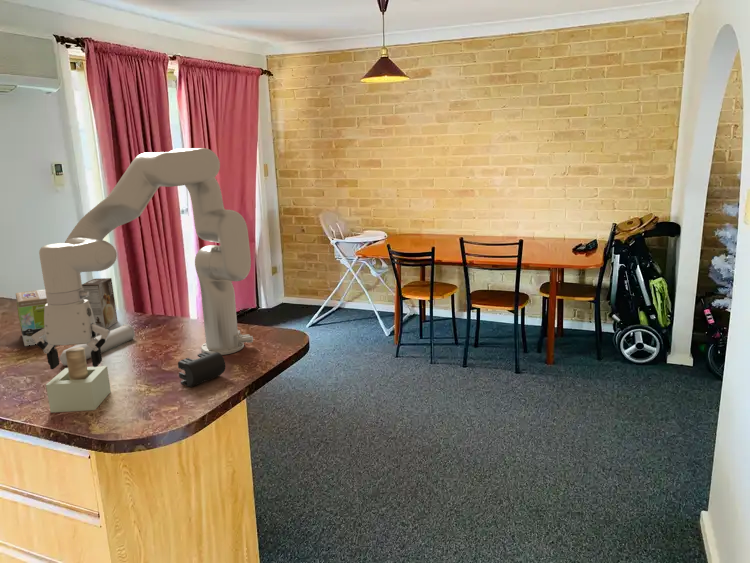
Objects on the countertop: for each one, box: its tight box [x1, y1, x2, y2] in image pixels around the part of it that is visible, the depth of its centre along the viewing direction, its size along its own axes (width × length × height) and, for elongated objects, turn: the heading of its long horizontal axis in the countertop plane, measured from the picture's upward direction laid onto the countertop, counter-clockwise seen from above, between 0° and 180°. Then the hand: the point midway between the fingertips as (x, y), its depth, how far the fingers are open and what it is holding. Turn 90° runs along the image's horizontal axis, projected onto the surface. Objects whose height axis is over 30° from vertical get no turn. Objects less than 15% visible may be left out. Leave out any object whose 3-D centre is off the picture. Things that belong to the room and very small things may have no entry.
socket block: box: [45, 365, 112, 413], centre depth 135 cm, size 10×10×7 cm
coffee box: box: [82, 277, 119, 330], centre depth 192 cm, size 9×6×16 cm
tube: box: [58, 324, 136, 367], centre depth 168 cm, size 5×5×25 cm
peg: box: [66, 347, 88, 380], centre depth 134 cm, size 4×4×12 cm
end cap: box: [177, 352, 226, 388], centre depth 146 cm, size 10×7×7 cm
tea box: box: [15, 288, 47, 347], centre depth 182 cm, size 15×10×15 cm
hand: (76, 366), depth 133 cm, fingers open, 9 cm apart
